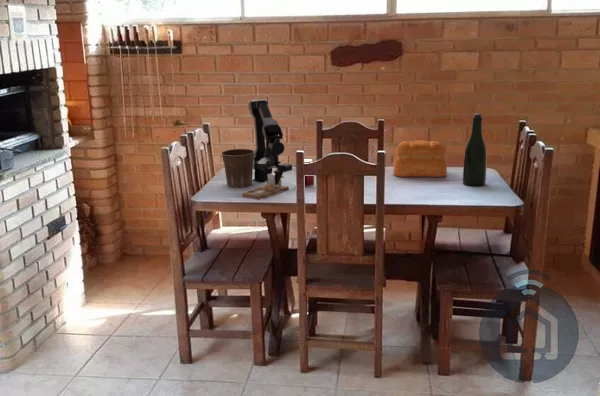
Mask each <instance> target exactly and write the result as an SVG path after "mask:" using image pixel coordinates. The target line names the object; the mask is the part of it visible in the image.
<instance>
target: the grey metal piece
mask: <svg viewBox="0 0 600 396" xmlns="http://www.w3.org/2000/svg"><path fill="white" fill-rule="evenodd" d="M267 185H268V186H266V185H264V186H265V187H263V186H262V187H263V189H267V188H270V187H272V188H276V187H279V183H278V185H276V182H275V173H274V172H272V173H270V174H268V180H267Z"/></svg>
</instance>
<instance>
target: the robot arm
mask: <svg viewBox="0 0 600 396" xmlns="http://www.w3.org/2000/svg"><path fill="white" fill-rule="evenodd" d="M268 104H269V102H268V100H267V99H252V100H250V102H248V105H247V106H248V110H249V114H250V115H251V117H252V118H253V124H254V126H253V127H254V135H255V150H254V151H255V153H254V160H253V170H254V172H253V175H254V179H253V178H252V182H259V183H260V182H261V183H264V182H266V181H267V182H268V174H270V173H275V182H276V185H278V183H279V181H280V178H281V176H282V175H283V174H284V173H287V172H291V171H292V170H293V165H292V164H291V163H286V162H283V163H281V162H282V161H280V159H279V156H281V154H283V153H284V152H285V145H284V144H283V143H282V142H281V140H283V139H284V134H283V131H282V127H281V126H280V125H279V122H278V121H277V120H276V119H274V117H273V116H272V113H271V110H270V108H269V105H268ZM273 169H275V170H274V171H273ZM281 179H282V178H281Z"/></svg>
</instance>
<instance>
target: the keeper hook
mask: <svg viewBox="0 0 600 396" xmlns="http://www.w3.org/2000/svg"><path fill="white" fill-rule="evenodd" d="M284 178H285V176H284V175H283V174H282V176H281V178H280V181H279V186H281V185H282V179H284Z"/></svg>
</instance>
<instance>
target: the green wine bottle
mask: <svg viewBox="0 0 600 396" xmlns="http://www.w3.org/2000/svg"><path fill="white" fill-rule="evenodd" d="M471 120H472V123H471V132H470V135H469V139H468V141H467V143H466V146H465V149H464V155H463V168H462V169H463V170H462V184H463V185H465V186H470V187H481V186H485V185H486V182H487V163H488V162H487V159H488V157H487V155H488V153H487V151H488V150H487V145H486V141H485V140H484V136H483V116H482V113H474V114H473V116H472V119H471Z"/></svg>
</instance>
